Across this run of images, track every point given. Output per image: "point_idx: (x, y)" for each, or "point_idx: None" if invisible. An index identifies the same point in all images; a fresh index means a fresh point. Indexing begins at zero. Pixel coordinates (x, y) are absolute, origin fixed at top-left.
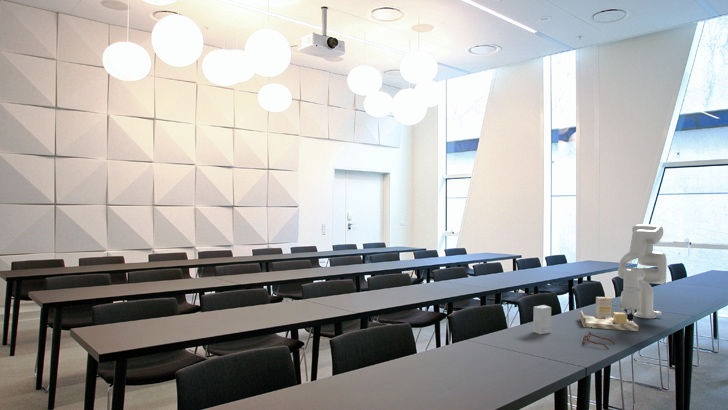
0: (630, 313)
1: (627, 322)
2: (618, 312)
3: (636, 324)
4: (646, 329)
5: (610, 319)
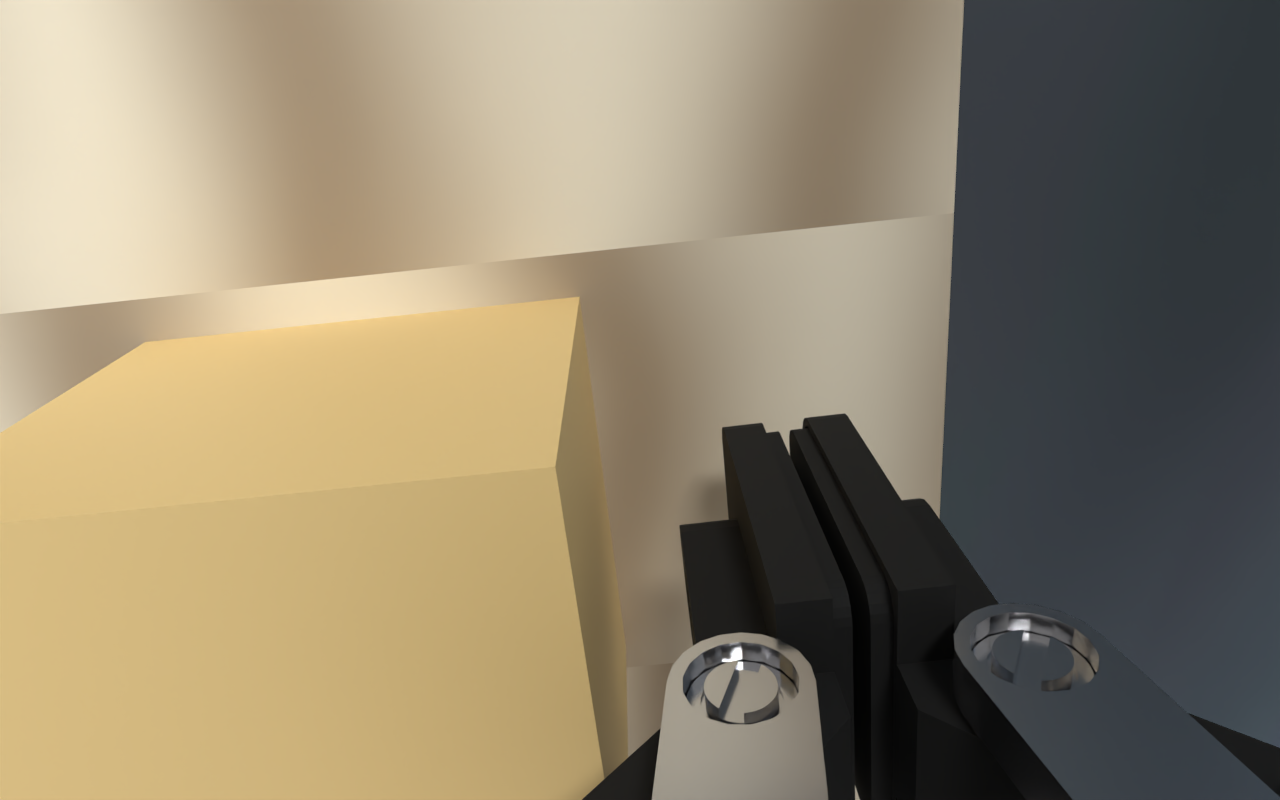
0: (910, 605)
1: (672, 513)
2: (164, 561)
3: None
4: (1154, 542)
5: (3, 251)
